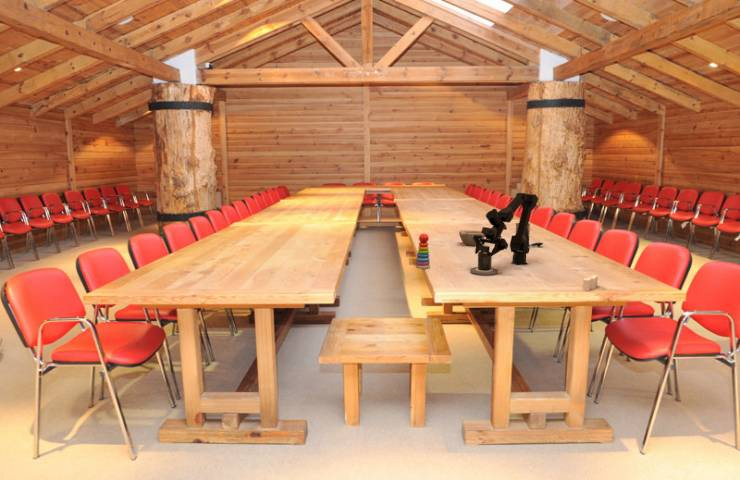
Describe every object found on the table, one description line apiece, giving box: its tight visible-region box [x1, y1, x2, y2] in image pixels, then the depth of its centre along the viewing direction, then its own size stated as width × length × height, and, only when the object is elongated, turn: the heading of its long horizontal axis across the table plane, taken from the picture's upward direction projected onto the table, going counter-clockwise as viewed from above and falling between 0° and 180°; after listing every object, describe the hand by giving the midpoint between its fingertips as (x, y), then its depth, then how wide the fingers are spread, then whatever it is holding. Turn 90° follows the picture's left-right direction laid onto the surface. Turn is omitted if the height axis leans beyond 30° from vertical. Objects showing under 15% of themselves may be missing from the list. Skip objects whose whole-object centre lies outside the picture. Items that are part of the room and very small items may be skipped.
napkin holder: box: [582, 274, 599, 292], centre depth 248 cm, size 15×11×6 cm
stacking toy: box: [414, 232, 431, 270], centre depth 291 cm, size 8×8×19 cm
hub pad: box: [469, 266, 499, 277], centre depth 280 cm, size 14×14×2 cm
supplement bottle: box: [477, 245, 493, 271], centre depth 279 cm, size 7×7×12 cm
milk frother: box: [515, 222, 544, 248], centre depth 353 cm, size 14×16×15 cm
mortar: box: [458, 229, 486, 247], centre depth 360 cm, size 17×17×9 cm
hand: (482, 254), depth 278 cm, fingers open, 9 cm apart
